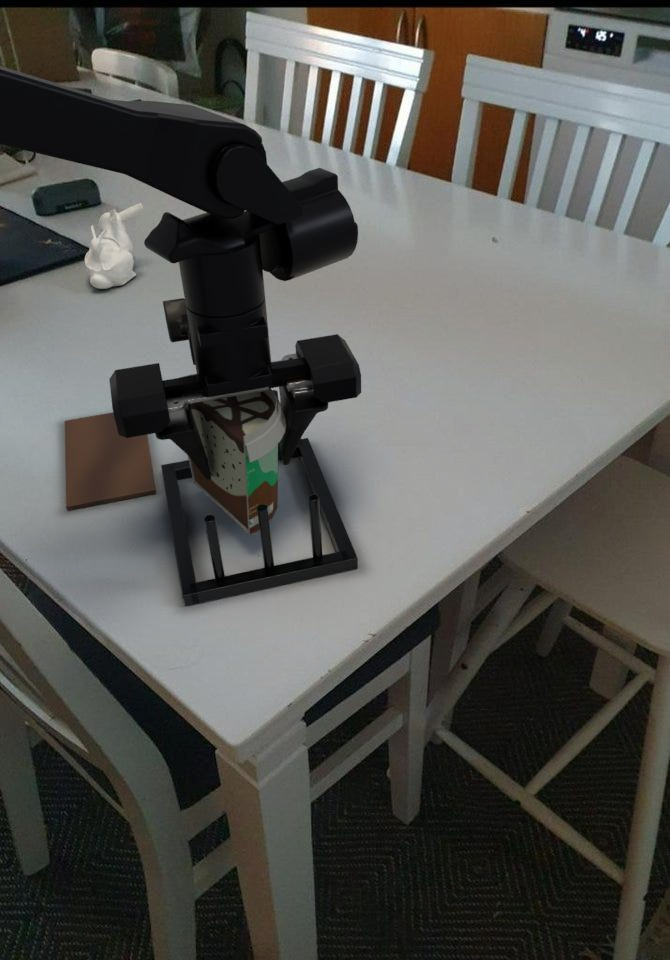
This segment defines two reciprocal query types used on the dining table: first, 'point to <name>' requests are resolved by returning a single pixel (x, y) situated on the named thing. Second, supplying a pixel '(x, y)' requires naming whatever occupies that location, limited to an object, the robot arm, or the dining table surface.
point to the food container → (241, 453)
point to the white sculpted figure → (112, 250)
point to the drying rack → (270, 573)
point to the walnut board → (104, 463)
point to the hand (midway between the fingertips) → (247, 469)
